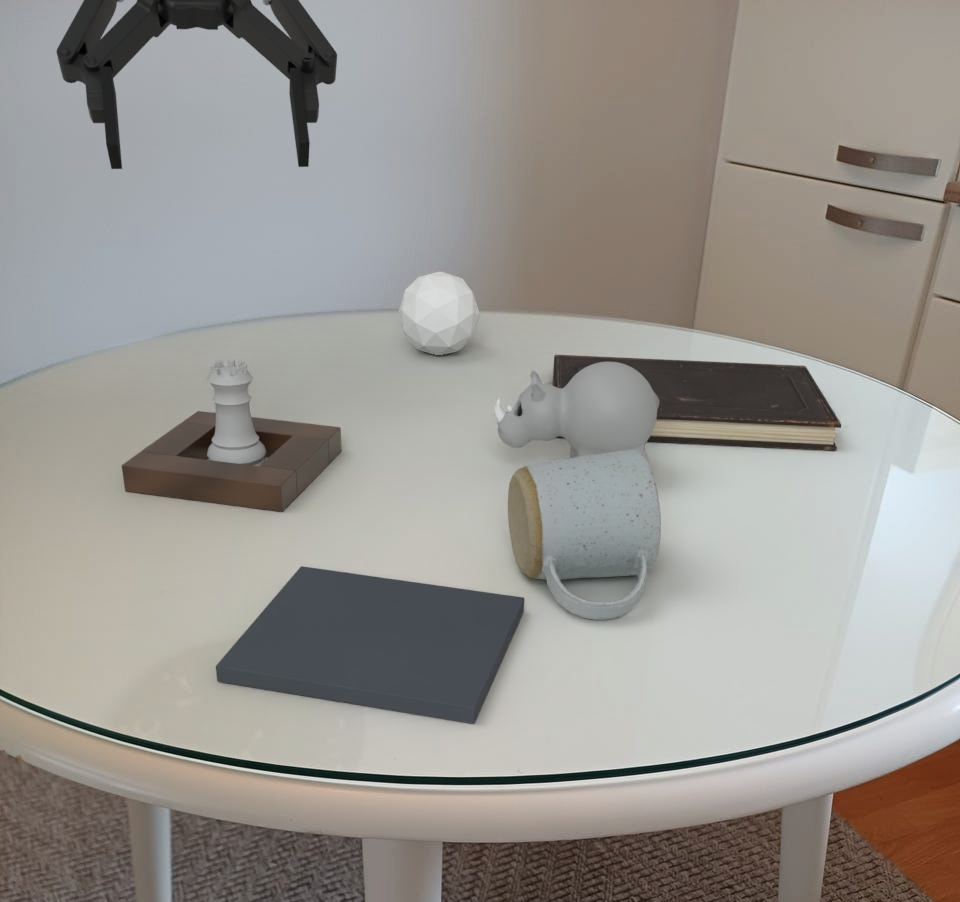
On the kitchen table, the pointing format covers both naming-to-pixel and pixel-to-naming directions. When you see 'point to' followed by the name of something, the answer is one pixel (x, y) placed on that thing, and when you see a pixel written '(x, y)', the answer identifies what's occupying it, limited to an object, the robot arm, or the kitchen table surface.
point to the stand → (233, 464)
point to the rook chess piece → (233, 416)
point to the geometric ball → (439, 313)
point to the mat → (377, 643)
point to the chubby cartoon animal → (584, 411)
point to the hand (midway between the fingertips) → (210, 156)
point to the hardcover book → (727, 402)
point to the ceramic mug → (586, 525)
